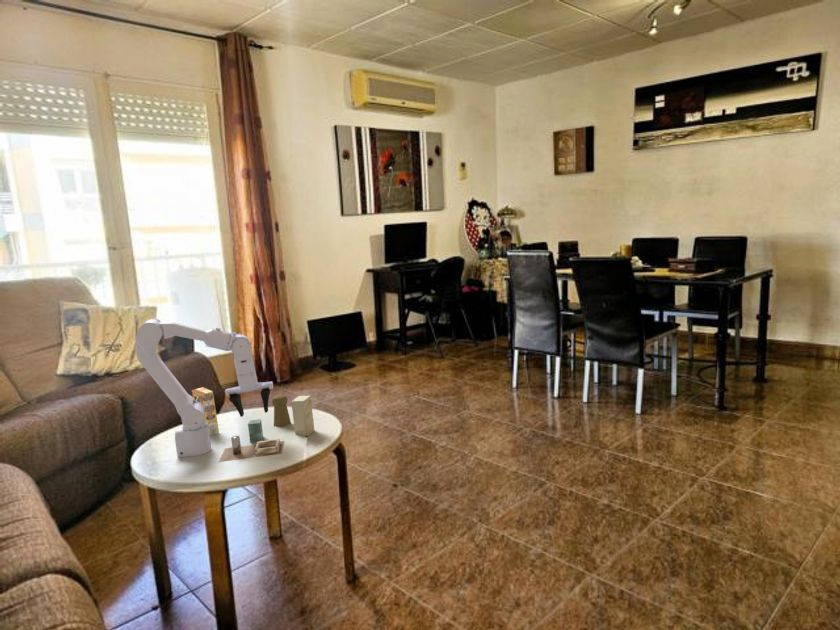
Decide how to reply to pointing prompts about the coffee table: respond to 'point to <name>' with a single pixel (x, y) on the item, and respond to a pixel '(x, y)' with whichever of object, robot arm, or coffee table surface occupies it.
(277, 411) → the cork
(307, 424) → the skincare box
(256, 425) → the peg
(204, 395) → the candy box
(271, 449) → the brown board
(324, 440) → the coffee table surface
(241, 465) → the coffee table surface
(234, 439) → the brushed metal cylinder
